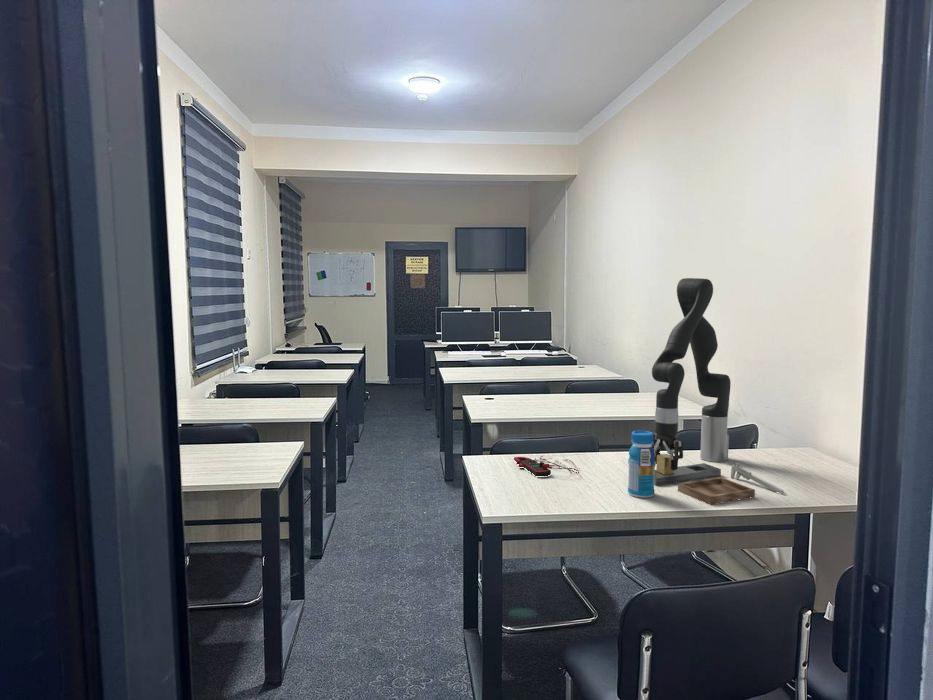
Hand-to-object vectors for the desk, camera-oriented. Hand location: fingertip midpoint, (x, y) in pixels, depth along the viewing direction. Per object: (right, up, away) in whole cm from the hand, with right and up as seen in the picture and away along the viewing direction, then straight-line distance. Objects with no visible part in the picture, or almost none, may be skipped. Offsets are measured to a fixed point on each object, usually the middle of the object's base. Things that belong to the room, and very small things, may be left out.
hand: (665, 466), depth 206 cm
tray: (+11, -6, -14) cm, 19 cm away
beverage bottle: (-12, -6, -14) cm, 20 cm away
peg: (0, -5, 0) cm, 5 cm away
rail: (+6, -4, +3) cm, 8 cm away
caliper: (+29, -6, -6) cm, 30 cm away
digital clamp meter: (-37, -4, +15) cm, 40 cm away
